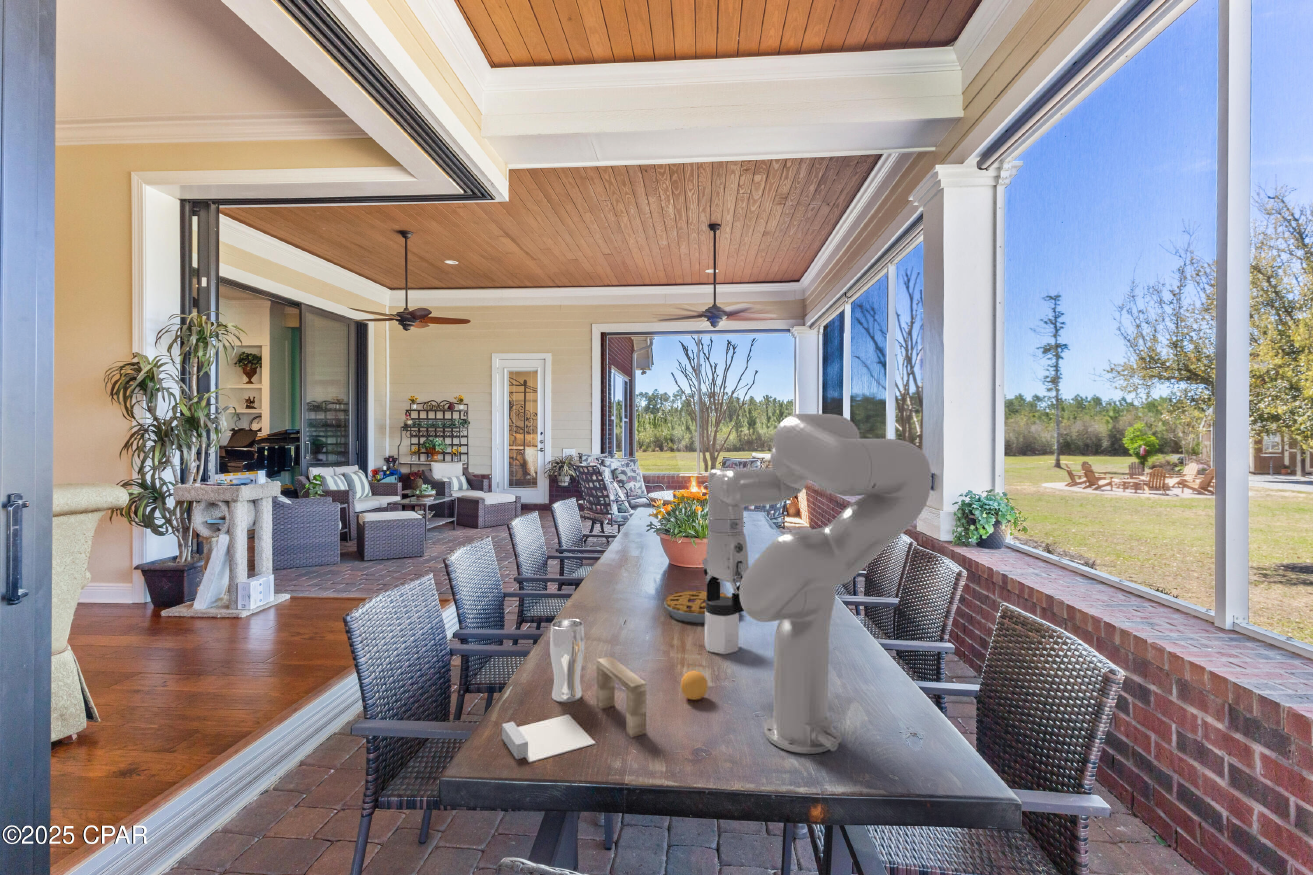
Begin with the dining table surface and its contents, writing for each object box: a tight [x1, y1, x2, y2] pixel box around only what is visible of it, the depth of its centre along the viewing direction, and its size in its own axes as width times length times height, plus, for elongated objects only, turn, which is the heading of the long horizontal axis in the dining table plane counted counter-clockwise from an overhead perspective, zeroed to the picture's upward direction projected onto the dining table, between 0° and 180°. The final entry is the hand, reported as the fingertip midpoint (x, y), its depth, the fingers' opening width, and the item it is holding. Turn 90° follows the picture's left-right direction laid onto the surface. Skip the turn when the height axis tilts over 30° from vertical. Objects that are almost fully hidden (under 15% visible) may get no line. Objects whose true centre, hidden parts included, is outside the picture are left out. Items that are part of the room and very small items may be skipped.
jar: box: [704, 596, 740, 655], centre depth 154 cm, size 9×8×12 cm
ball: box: [680, 670, 708, 701], centre depth 125 cm, size 6×6×6 cm
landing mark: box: [517, 714, 596, 764], centre depth 109 cm, size 12×12×1 cm
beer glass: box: [549, 618, 585, 703], centre depth 126 cm, size 7×7×15 cm
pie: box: [663, 589, 732, 624], centre depth 182 cm, size 22×22×5 cm
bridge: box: [596, 656, 647, 739], centre depth 116 cm, size 3×14×9 cm, turn 31°
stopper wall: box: [501, 721, 528, 760], centre depth 106 cm, size 8×2×2 cm, turn 31°
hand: (725, 605), depth 131 cm, fingers open, 9 cm apart
